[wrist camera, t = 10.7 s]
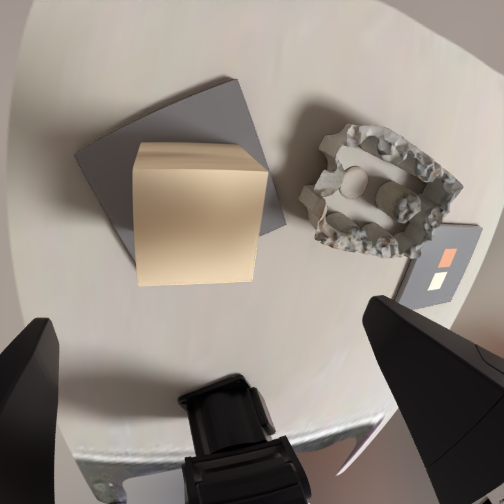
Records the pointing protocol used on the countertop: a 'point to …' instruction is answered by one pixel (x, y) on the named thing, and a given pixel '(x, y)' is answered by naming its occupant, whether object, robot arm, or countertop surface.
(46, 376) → the robot arm
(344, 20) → the countertop surface
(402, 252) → the egg carton
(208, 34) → the countertop surface
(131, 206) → the charcoal mat
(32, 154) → the countertop surface
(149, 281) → the maple block
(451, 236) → the tile
